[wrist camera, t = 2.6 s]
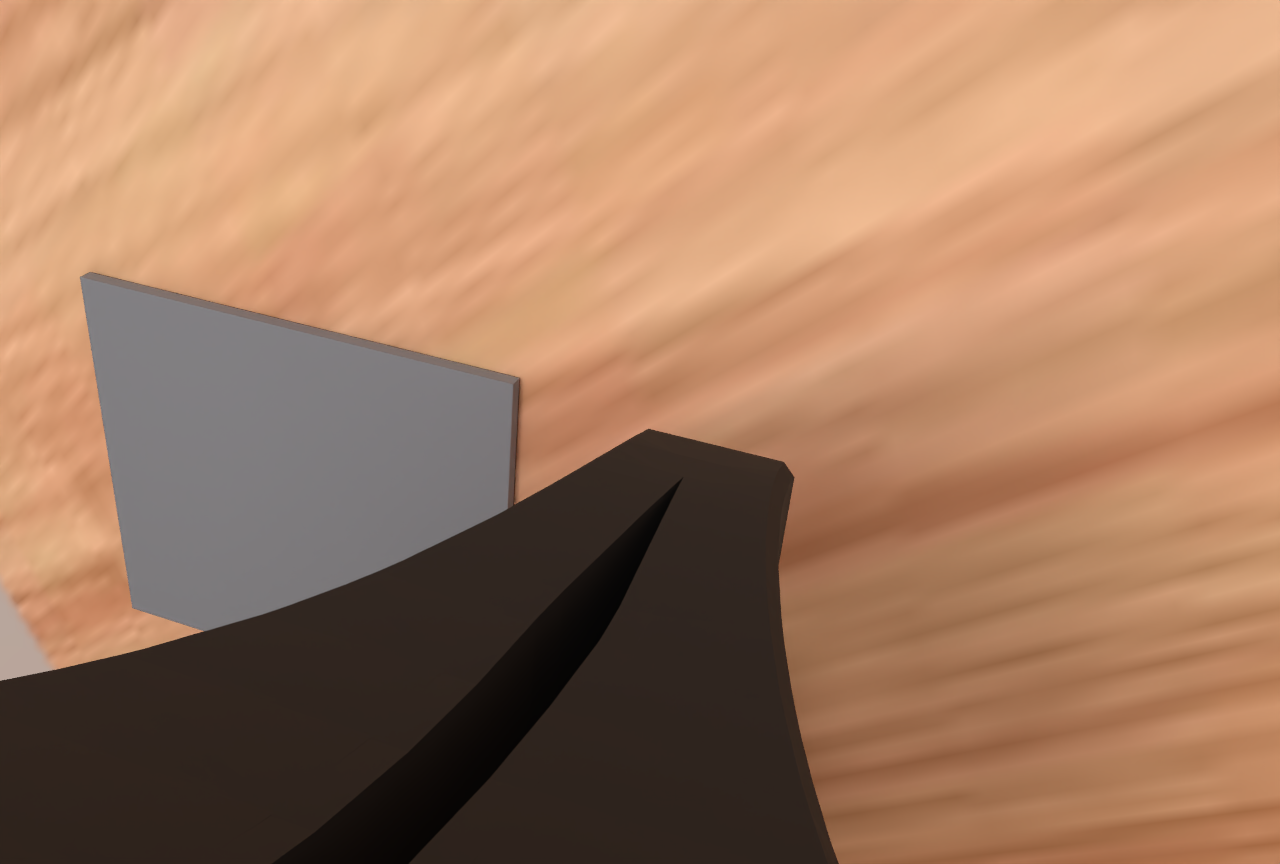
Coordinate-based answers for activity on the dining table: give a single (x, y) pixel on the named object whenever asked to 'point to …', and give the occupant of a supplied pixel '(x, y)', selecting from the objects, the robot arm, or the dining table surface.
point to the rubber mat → (281, 451)
